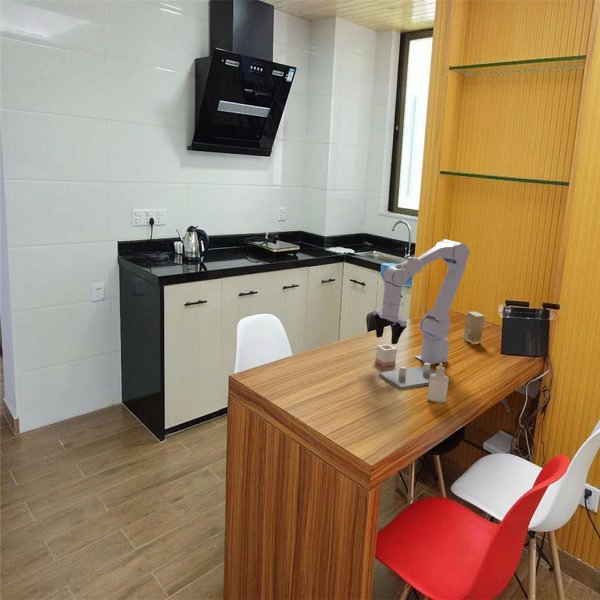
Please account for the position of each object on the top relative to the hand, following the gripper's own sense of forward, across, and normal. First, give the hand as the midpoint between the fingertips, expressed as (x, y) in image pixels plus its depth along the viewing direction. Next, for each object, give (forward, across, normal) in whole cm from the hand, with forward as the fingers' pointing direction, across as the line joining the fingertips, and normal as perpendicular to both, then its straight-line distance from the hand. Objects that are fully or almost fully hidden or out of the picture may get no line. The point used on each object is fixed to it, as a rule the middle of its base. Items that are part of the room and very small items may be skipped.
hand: (386, 340), depth 186 cm
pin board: (+10, +13, +2) cm, 16 cm away
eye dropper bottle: (+10, +28, -4) cm, 30 cm away
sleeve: (+10, -2, +3) cm, 10 cm away
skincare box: (+9, -4, +53) cm, 53 cm away
